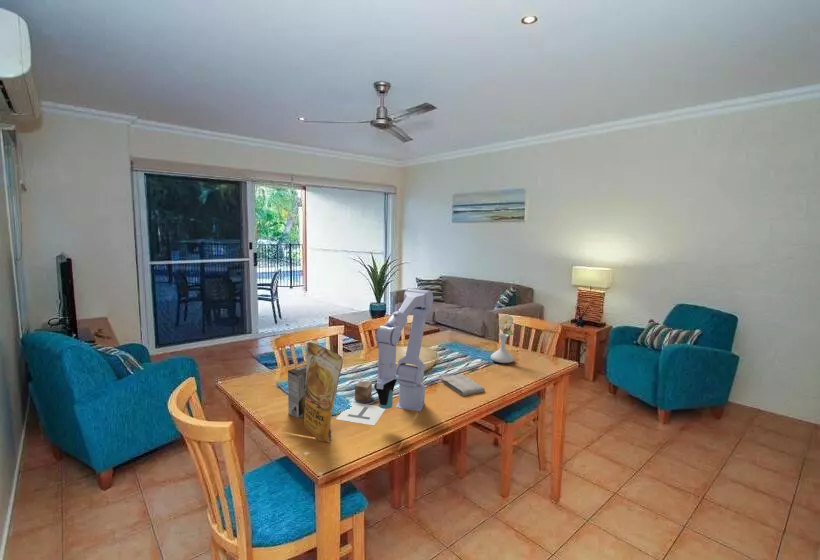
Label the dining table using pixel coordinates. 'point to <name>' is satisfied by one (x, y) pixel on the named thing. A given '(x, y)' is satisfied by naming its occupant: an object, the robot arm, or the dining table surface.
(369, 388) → the walnut block
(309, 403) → the pancake mix bag
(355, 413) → the letter mat
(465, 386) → the washcloth
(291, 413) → the coffee box
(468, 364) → the dining table surface
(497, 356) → the flower in vase
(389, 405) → the teal rounded cylinder
